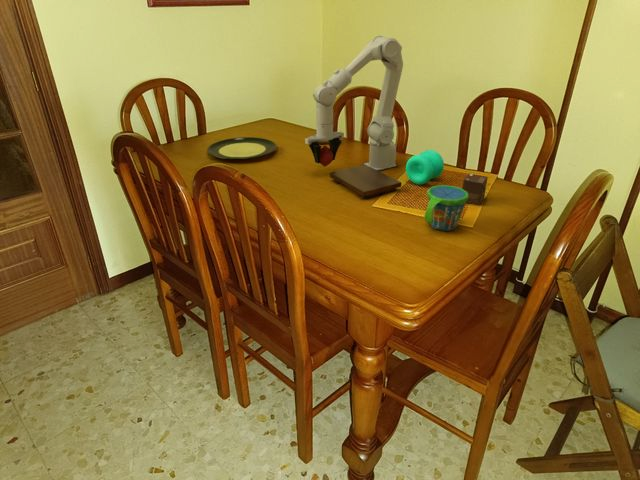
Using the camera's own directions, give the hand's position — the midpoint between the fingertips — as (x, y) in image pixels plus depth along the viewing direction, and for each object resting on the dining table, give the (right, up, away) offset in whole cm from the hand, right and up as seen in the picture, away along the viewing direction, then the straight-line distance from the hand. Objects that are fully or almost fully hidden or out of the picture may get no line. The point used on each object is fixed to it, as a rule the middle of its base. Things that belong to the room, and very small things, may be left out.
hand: (325, 161), depth 159 cm
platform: (+13, -10, -8) cm, 18 cm away
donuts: (+34, -8, -5) cm, 35 cm away
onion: (0, -2, +1) cm, 2 cm away
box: (+46, -16, -19) cm, 52 cm away
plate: (-33, +7, +24) cm, 42 cm away
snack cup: (+33, -24, -34) cm, 53 cm away
